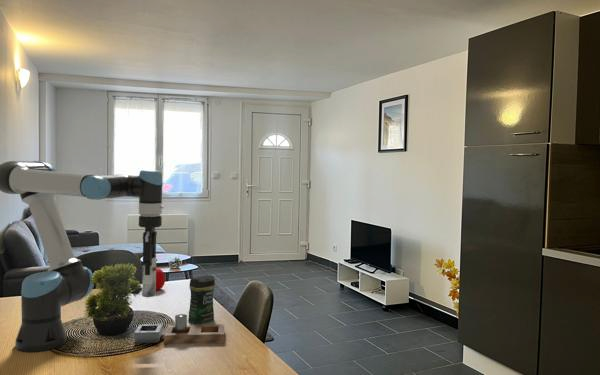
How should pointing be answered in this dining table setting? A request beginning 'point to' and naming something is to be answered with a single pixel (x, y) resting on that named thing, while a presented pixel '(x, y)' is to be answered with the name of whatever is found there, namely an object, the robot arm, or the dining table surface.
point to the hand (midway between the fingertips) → (149, 281)
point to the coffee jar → (201, 299)
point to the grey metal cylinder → (150, 289)
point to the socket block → (148, 333)
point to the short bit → (181, 323)
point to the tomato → (159, 279)
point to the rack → (195, 334)
